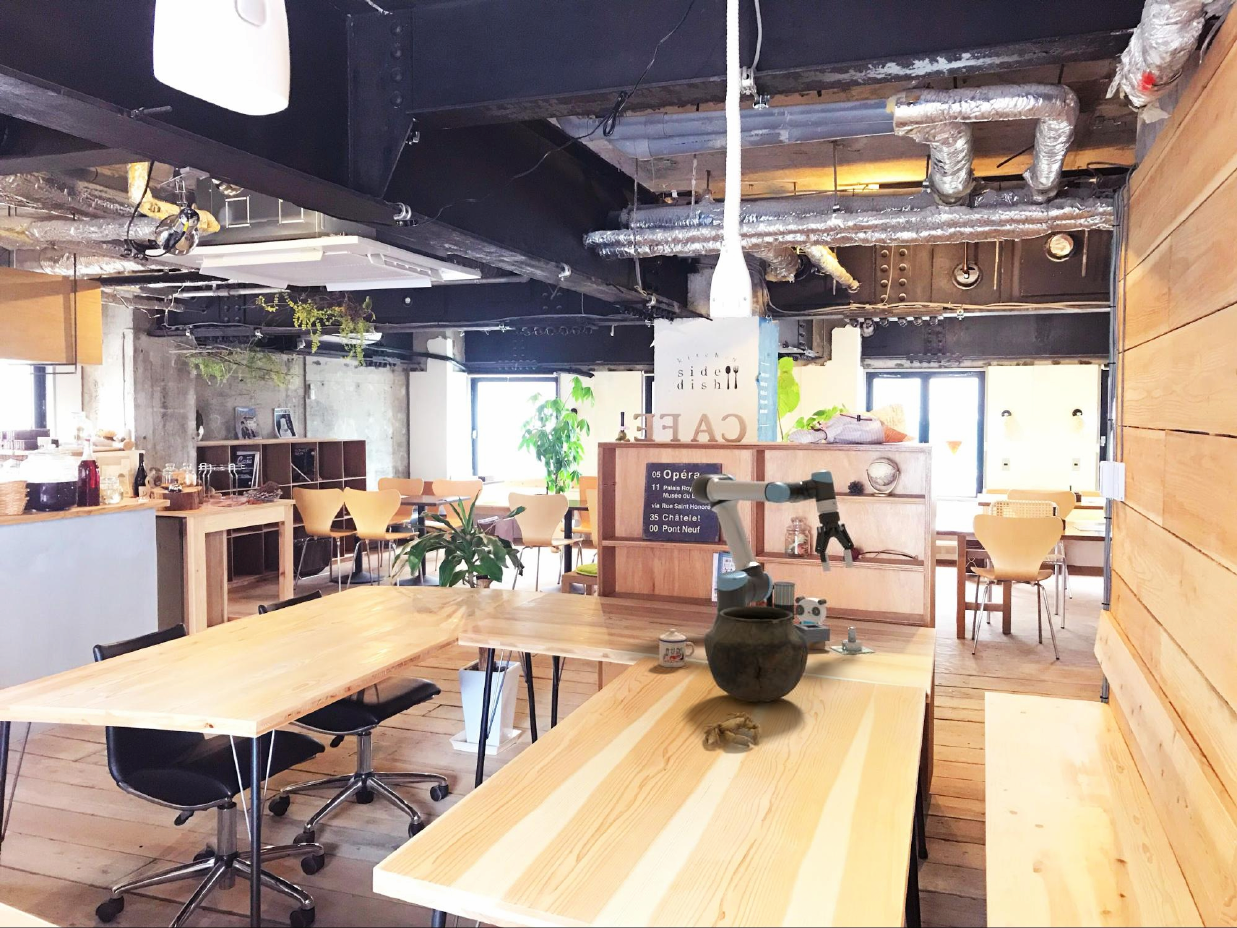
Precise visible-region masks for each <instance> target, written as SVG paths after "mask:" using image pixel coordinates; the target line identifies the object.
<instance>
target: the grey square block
mask: <svg viewBox="0 0 1237 928" xmlns="http://www.w3.org/2000/svg"><path fill="white" fill-rule="evenodd" d="M793 625H794V626H795V628H796V629H797V630H798V631H799V632H800V633H801V634H802V635H804V637H805V639H806V642H821V641H825V642H830V641H831V628H830V627H828V626H825V625H823V624H822V625H820V624H818V623H816V624H802V623H801V624H799V623H798V624H797V623H795V624H794V623H793Z"/></svg>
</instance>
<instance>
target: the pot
mask: <svg viewBox="0 0 1237 928" xmlns="http://www.w3.org/2000/svg"><path fill="white" fill-rule="evenodd" d="M792 617H793V614H792V613H790V612H788V611H785V610H782V609H778V608H774V607H773V608H772V607H766V606H761V605H751V606H750V605H749V606H748V605H747V606H745V607H734V608H728V609H724V610H722V611H721V612H720V613H719V621H718V622H717V624H716V625H715V626H714V627H713V628H712V627H711V629H710V630H709V631H707V632H706V634H705V636H704V638H703V639H704V641H703V644H704V651H705V656H706V660H707V665H708V668H709V671H710V673H711V676H712V678H713V680H714V682H715V684H716V685H717V687H718V688H719V689H721V690H722V691H724V693H726V694H729V695H730V696H731V697H733V698H736V699H737V700H741V701H744V702H745V701H746V702H754V703H759V702H760V703H763V702H770V701H771V702H772V701H775V700H777V699H781V698H783V697H786V696H788V695H789V694H790V693H791V692H792V691H793V690H794V689H795V688H796V687H797V686H798V685H799V682H800V681H801V679H802V677H803V676H804V672H805V671H806V667H807V663H808V658H809V657H808V656H809V650H808V646H807V642H806V639H805V637H804V635H802V634H801V633H800V632H799V631H798V630H797V629H796V628H795V626H794V622H793V619H792Z"/></svg>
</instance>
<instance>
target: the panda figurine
mask: <svg viewBox="0 0 1237 928" xmlns="http://www.w3.org/2000/svg"><path fill="white" fill-rule="evenodd" d="M827 602H828V601H827V599H826V598H822V599H820V598H816V597H809V598H806V597H805V596H803V595H802V596H797V597H796V598H794V603H796V604H797V605H796V607H795V614H796V616H797V618H798V620H799V623H798V624H816V623H818V624H820V625H823V621H824V620H825V619H826V616H827V608H826V605H827Z"/></svg>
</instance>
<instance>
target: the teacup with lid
mask: <svg viewBox="0 0 1237 928" xmlns="http://www.w3.org/2000/svg"><path fill="white" fill-rule="evenodd" d="M658 641H659V648H658V649H659V652H658V655H659V656H658V657H659V659H658V661H659V662H658V663H659V665H660V666H662V667H664V668H674V669H675V668H682V667H685V665H686V658H687V659H688V658H691V657H692V656H693V655H694V654H695V651H696V646H695V644H694V643H693V642H691V641H687V637H686V636H684V635H682V634H680V633H679V632H677V629H675V628H670V629H669V631H668V632H666V633H665V634H661V635H660V636H659V637H658ZM687 645H690V646H691V647H692V650H691V652H690V653H689V654H686V647H687Z"/></svg>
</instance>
